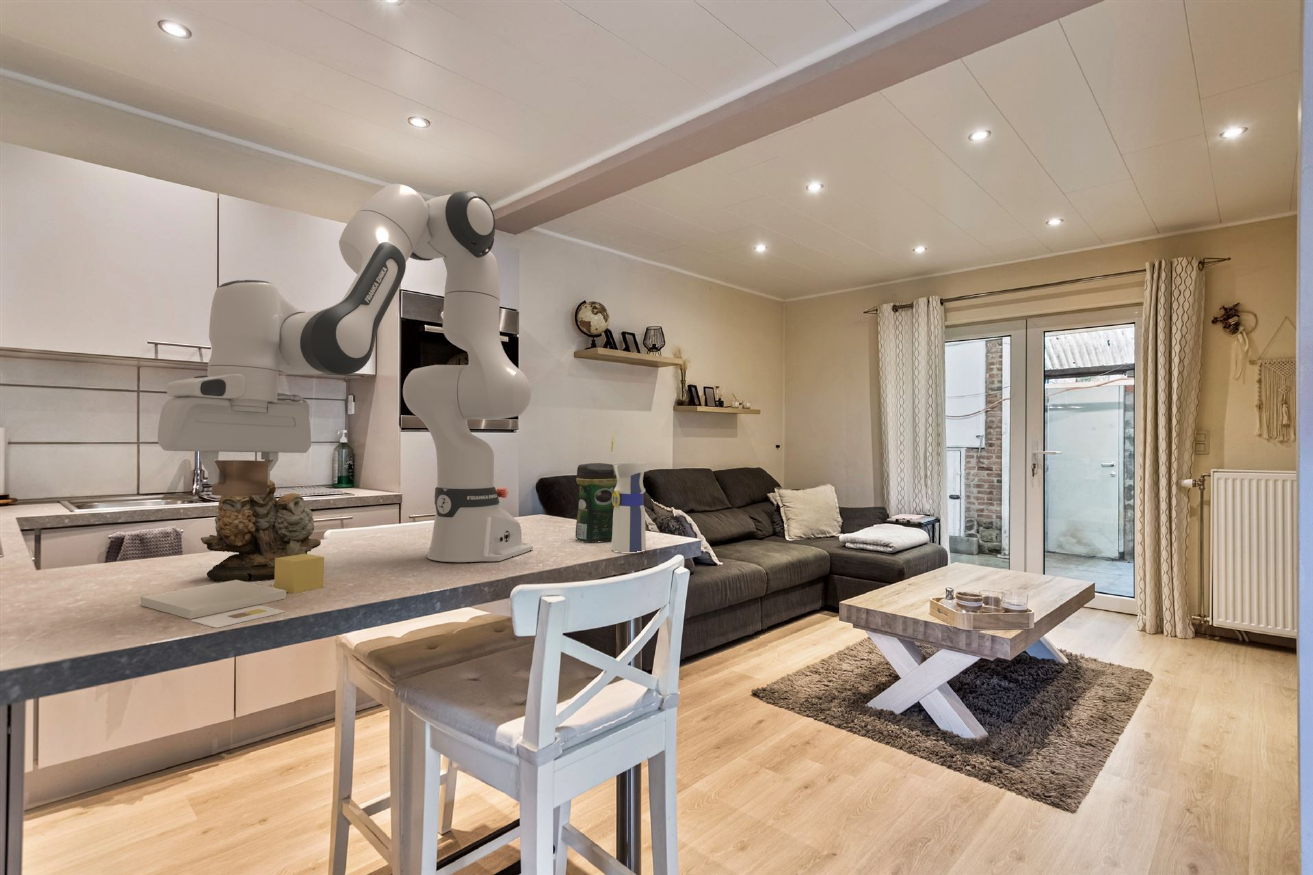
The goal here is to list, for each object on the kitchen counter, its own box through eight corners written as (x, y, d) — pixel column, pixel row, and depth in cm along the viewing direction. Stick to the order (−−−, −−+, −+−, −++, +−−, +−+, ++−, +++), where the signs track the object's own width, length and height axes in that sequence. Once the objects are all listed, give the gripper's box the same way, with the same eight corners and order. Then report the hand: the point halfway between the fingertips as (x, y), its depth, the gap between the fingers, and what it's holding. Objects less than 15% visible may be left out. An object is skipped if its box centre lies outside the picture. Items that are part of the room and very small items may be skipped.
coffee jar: (604, 536, 164) (606, 462, 164) (621, 540, 158) (622, 463, 157) (570, 539, 159) (571, 462, 159) (585, 544, 152) (587, 464, 152)
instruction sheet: (259, 605, 94) (259, 604, 94) (285, 611, 91) (285, 610, 91) (190, 620, 86) (190, 619, 86) (216, 628, 83) (216, 626, 83)
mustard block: (304, 583, 108) (304, 553, 108) (323, 587, 106) (324, 556, 106) (274, 589, 104) (275, 558, 104) (293, 593, 101) (294, 561, 101)
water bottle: (619, 555, 139) (621, 437, 139) (603, 548, 146) (605, 436, 146) (654, 552, 142) (656, 437, 142) (636, 546, 150) (638, 437, 150)
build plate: (236, 587, 104) (236, 579, 104) (286, 598, 98) (286, 590, 98) (140, 605, 93) (141, 596, 93) (190, 618, 87) (190, 609, 87)
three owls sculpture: (206, 588, 104) (207, 480, 104) (194, 576, 113) (195, 477, 113) (328, 573, 116) (329, 476, 116) (309, 563, 125) (309, 473, 125)
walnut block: (246, 493, 99) (248, 460, 99) (267, 494, 97) (268, 461, 97) (211, 494, 95) (213, 460, 95) (232, 496, 93) (233, 460, 93)
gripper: (296, 396, 107) (293, 481, 107) (153, 382, 89) (149, 484, 89) (321, 395, 104) (318, 482, 104) (179, 381, 86) (174, 486, 86)
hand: (239, 483), depth 96 cm, fingers closed on walnut block, 5 cm apart
